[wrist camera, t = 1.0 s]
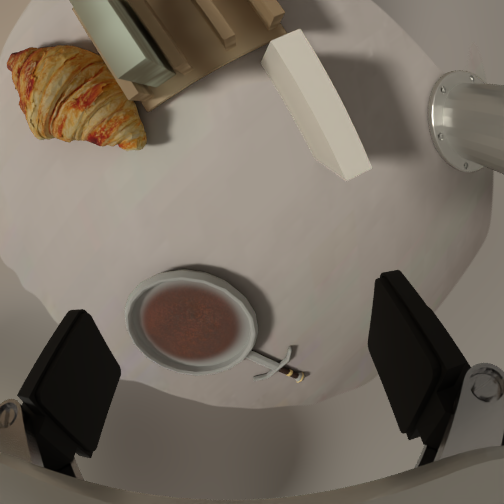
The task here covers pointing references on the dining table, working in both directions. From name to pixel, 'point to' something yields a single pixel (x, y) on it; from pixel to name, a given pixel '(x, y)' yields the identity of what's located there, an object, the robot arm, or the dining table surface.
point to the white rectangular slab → (315, 105)
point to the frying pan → (196, 325)
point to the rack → (174, 39)
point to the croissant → (74, 98)
